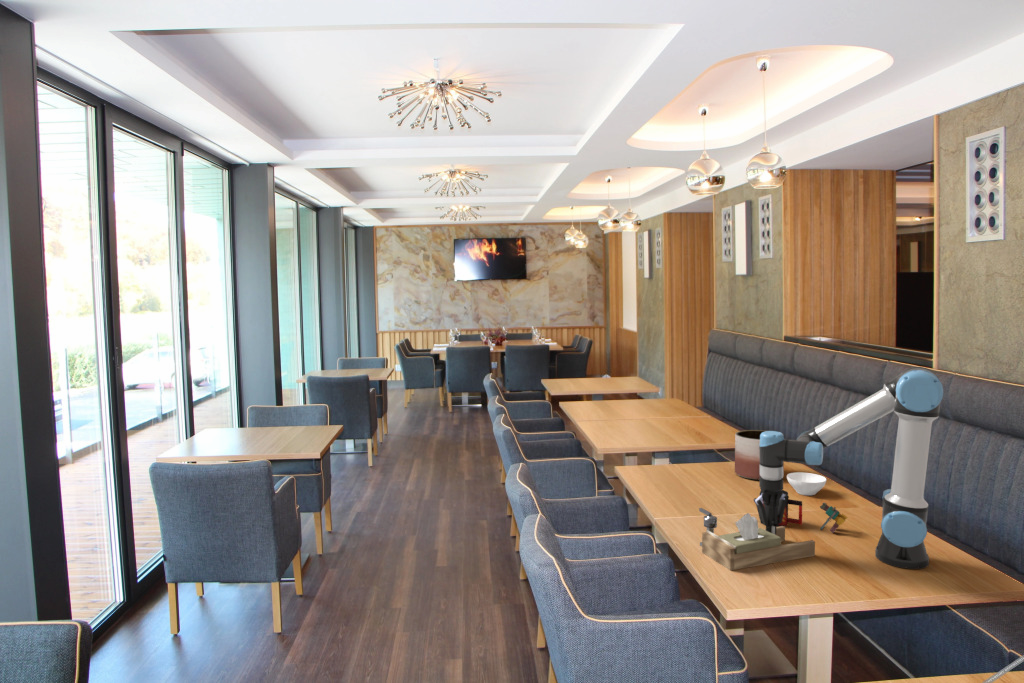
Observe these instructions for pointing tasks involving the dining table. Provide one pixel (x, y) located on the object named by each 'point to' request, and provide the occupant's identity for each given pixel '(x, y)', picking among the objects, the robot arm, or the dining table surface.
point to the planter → (748, 454)
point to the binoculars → (833, 516)
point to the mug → (785, 515)
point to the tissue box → (751, 536)
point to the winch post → (709, 521)
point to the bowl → (806, 482)
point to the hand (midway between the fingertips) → (771, 543)
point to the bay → (732, 561)
